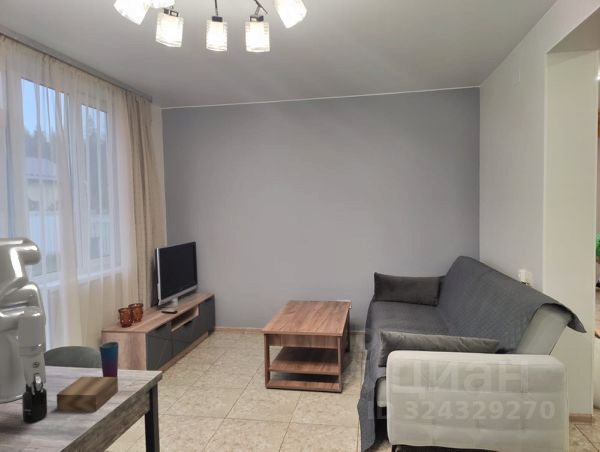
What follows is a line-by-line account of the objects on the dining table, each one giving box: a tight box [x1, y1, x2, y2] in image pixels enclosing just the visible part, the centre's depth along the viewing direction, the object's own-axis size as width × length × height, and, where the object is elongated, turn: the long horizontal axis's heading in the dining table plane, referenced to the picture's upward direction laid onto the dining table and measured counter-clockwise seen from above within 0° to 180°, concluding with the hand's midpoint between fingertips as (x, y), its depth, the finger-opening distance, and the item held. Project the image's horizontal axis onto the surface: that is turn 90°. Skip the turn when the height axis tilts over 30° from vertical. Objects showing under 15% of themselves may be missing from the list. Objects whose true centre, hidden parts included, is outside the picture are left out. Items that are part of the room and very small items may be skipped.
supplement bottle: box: [21, 382, 48, 424], centre depth 128 cm, size 7×7×12 cm
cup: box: [99, 341, 119, 377], centre depth 155 cm, size 7×7×15 cm
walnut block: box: [56, 376, 119, 412], centre depth 139 cm, size 14×14×6 cm
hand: (34, 399), depth 128 cm, fingers open, 9 cm apart
